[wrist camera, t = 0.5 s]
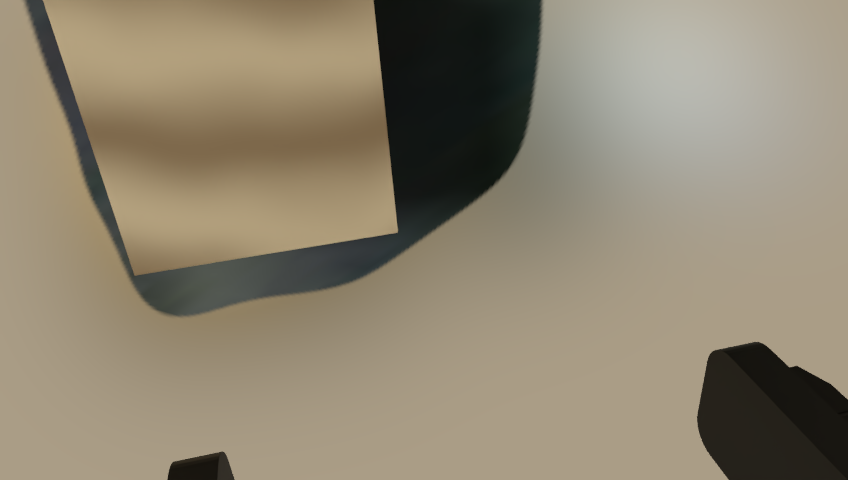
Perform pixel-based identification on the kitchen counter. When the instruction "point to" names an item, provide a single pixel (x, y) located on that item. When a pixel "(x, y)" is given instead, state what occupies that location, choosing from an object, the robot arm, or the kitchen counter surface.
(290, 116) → the birch stool
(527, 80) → the kitchen counter surface
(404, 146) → the kitchen counter surface
